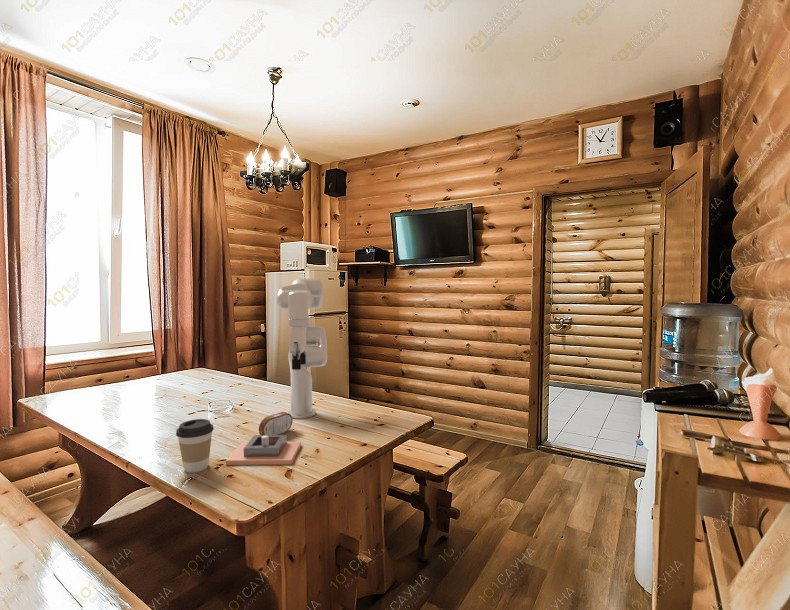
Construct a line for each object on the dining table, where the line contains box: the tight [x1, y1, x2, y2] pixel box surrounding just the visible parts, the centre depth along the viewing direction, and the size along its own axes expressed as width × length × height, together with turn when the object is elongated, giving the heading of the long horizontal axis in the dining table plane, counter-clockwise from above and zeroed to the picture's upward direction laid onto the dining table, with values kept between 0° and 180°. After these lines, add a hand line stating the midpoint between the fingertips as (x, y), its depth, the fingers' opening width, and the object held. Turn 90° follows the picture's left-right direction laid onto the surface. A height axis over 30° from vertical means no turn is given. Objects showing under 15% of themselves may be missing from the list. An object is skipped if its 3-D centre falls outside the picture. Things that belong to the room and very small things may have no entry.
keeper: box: [225, 436, 302, 466], centre depth 149 cm, size 16×22×7 cm
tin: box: [258, 411, 293, 435], centre depth 168 cm, size 15×3×8 cm, turn 144°
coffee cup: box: [175, 418, 214, 473], centre depth 138 cm, size 11×11×15 cm
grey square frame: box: [244, 434, 288, 457], centre depth 150 cm, size 12×12×3 cm
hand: (299, 366), depth 164 cm, fingers open, 9 cm apart
